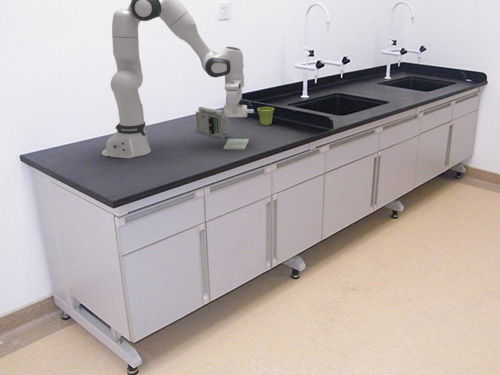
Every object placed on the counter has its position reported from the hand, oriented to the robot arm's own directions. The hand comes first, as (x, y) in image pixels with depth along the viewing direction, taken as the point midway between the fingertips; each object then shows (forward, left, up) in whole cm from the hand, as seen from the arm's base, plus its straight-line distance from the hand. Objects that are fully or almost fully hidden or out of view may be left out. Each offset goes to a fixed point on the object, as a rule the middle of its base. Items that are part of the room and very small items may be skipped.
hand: (235, 112), depth 236 cm
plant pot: (+10, +40, -16) cm, 44 cm away
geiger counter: (-14, +17, -17) cm, 28 cm away
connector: (+2, 0, -2) cm, 2 cm away
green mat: (0, 0, -16) cm, 16 cm away
